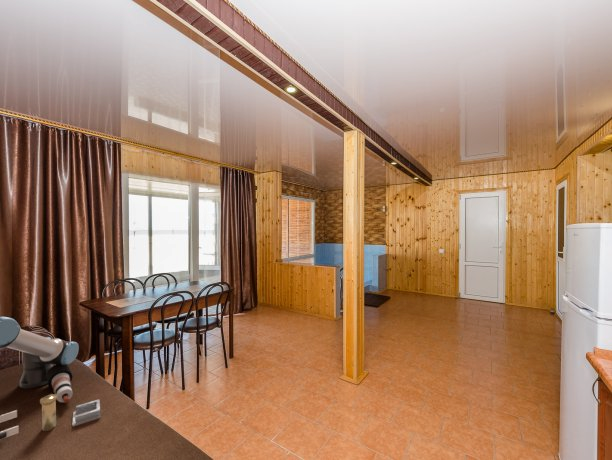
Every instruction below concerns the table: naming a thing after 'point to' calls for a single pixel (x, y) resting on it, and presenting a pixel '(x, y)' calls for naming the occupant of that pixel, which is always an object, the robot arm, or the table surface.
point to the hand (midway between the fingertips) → (17, 420)
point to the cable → (60, 381)
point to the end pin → (48, 412)
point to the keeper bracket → (86, 412)
